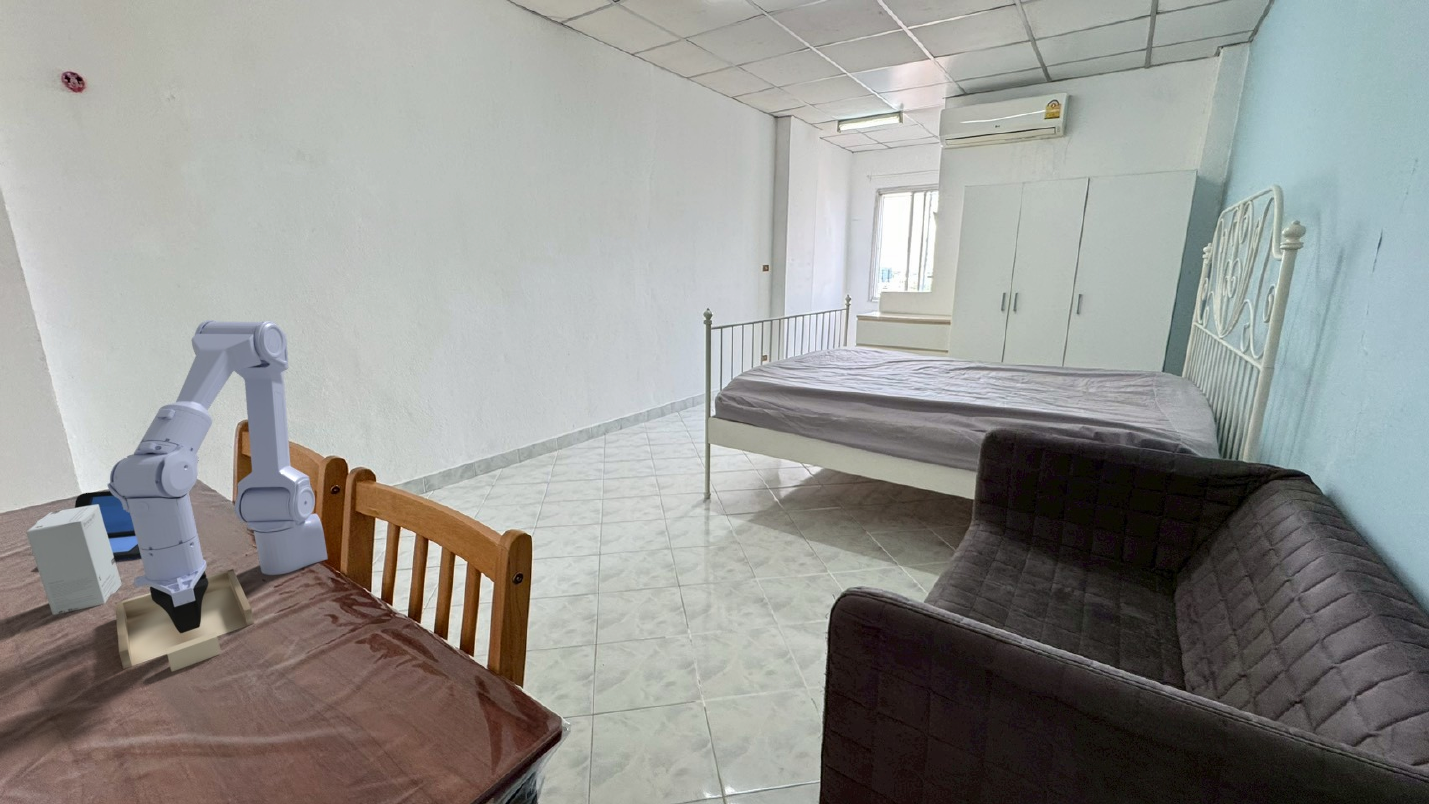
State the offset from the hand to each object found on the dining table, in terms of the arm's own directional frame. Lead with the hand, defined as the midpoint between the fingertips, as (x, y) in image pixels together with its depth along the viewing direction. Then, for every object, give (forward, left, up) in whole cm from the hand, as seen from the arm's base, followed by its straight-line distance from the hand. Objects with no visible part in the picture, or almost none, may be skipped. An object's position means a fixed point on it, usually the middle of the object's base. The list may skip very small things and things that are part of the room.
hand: (189, 628), depth 78 cm
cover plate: (0, +7, -4) cm, 8 cm away
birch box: (0, -8, -3) cm, 8 cm away
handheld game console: (+6, -48, -4) cm, 49 cm away
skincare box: (+10, -27, -4) cm, 29 cm away
